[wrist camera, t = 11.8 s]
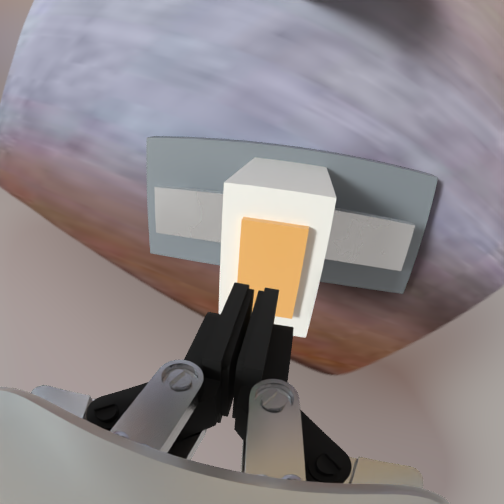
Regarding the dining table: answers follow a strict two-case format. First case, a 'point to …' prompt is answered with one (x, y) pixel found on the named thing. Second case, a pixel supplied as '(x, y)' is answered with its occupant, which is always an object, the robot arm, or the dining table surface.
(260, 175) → the block
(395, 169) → the mount plate
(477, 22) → the dining table surface
